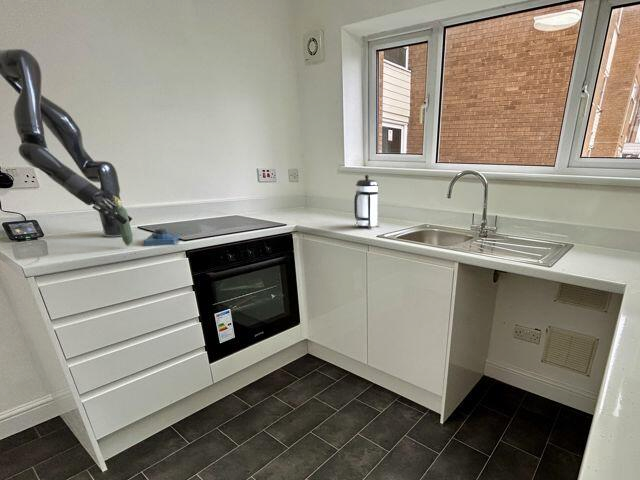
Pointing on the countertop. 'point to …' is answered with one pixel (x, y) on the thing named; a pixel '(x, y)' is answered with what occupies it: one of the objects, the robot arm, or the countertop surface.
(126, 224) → the vegetable
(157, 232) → the button
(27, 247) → the countertop surface
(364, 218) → the coffee press
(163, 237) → the button box
